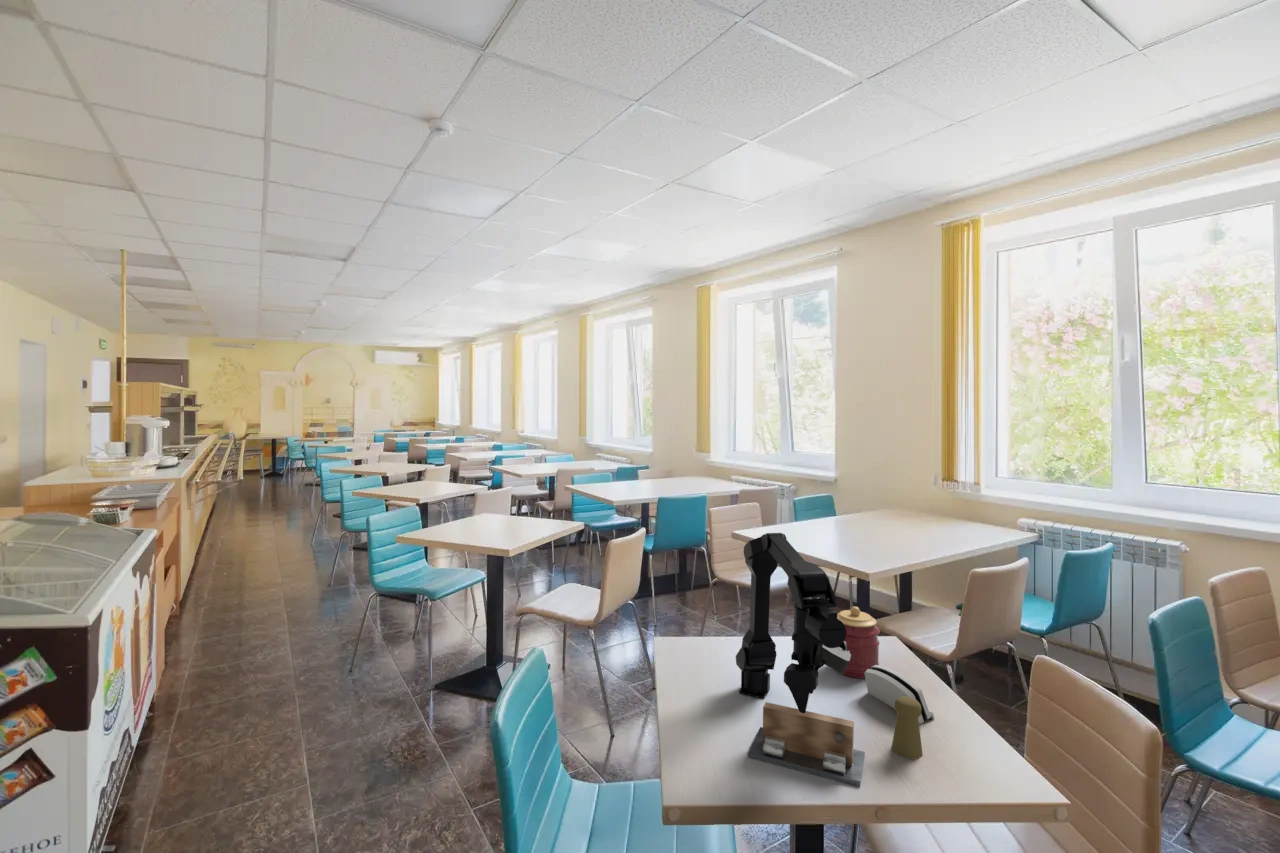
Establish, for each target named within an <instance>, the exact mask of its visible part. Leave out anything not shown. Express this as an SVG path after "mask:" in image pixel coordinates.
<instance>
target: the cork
mask: <svg viewBox="0 0 1280 853" xmlns="http://www.w3.org/2000/svg"><path fill="white" fill-rule="evenodd" d="M894 710H895V712H896V713H897V714H896V719H895V726H894V729H893V730H894V731H893V736H892V742H891V750H892V751H893V752H894V753H895V754H897V755H898V756H901V757H902V758H905V759H906V758H907V759H913V760H915V759H916V760H917V759H920V758H922V756H924V755H923V745H922V738H921V731H920V729H921V728H920V724H919V719H918V717H919V716H920V715H921V705H920V703H919V702H918V701H917V700H915V699H913V698H911V697H905V696H903V697H899V698H897V699H896V701H895V709H894Z"/></svg>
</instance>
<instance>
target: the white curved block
mask: <svg viewBox="0 0 1280 853" xmlns="http://www.w3.org/2000/svg"><path fill="white" fill-rule="evenodd" d="M864 679H865V684H866V689H867V694H869V695H871V696H873V697H874V698H876V699H877V700H879V701H881V702H882V703H883V704H886V705H888V706H889V707H891V708H893V709H894V710H895V701H896V699H897V698H899V697H903V696H905V697H911V698H913V699H915V700H917V701H918V702H919V703H920V705H921V715H920V716H919V717H918V719H919V725H921V724H924V723H925V721H924V720H925V719H927V720H929V719H931V720H933V721H934V720H935V714H934V712H933V711H931V710H930V709H929V707H928V704H927V702H926V699H925V696H924V694H923V691H922V690H921V689H920V687H918V686H917V685H916V684H915V683H914V682H913V681H911V680H910V679H908V678H907V677H906V676H904V675H903V674H902V673H900V672H897V671H896V670H894V669H891V668H889V667H887V666H884V665H880V664H879V665H875V666H872V667H871V669H867V670H866V672H865V678H864Z"/></svg>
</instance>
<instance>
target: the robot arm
mask: <svg viewBox="0 0 1280 853" xmlns="http://www.w3.org/2000/svg"><path fill="white" fill-rule="evenodd" d="M743 556H744V561H745V562H744V563H745V565H746V567H747V568H748V569H749V572H750V576H751V578H750V598H749V599H750V602H749V604H750V605H749V626H748V627H749V628H748V629H747V631H746V632H745V634H744V635H743V637H742V641H741V642H742V643H741V647H740V648H739V650H738V652H737V653H736V655H735V664H736V666H737V667H738V668H739V669H740V673H741V674H740V676H741V677H740V678H741V679H740V682H741V683H740V689H739V690H738V693H739V694H741V695H747V696H751V697H755V698H761V699H765V698H766V695H768V693H769V692H770V689H771V685H770V684H771V674H770V673H769V670H774V669H775V664H776V659H777V651H776V647H777V645H776V643H775V641H774V640H773V638H772V636H771V634H770V633H769V628H770V627H769V625H770V607H771V606H770V603H771V602H770V601H771V580H772V579H771V577H772V575H773V574H774V572H775V571H776V569H777V568H778V567H780V568H781V569H782V570H783V571H784V573H785V574H786V576H787V577H788V578H787V586H788V588H789V591H790V593H791V596H792V597H791V600H790V601H791V602H793V603H794V605H793V606H794V607H793V608H794V611H793V612H794V613H793V616H794V617H793V632H792V635H791V641H793V650H792V654H790V655H791V656H790V658H791V659H790V660H791V661H796V662H797V663H798V664H797V663H793V662H792V663H790V664H789V665H788V666H787V667H786V669H785V671H784V673H783V683H785V685H786V686H787V687H788V689H789V691H790V693H791V695H792V698H793V700H794V702H795V704H796V707H797V709H799V712H801V713H805V712H806V711H807V707H808V703H809V698H810V694H811V695H812V694H813V693H814V691H816V689H817V687H818V685H819V670H820V669H821V668H822V667H823V666H827V667H829V668H831V669H832V670H834V671H835V670H836V671H835V672H836V673H838V674H839V675H843V674H844V672H845V670H846V668H847V666H848V663H849V661H850V658H851V654H850V651H847V645H846V642H845V641H844V640H845V638H846V634H847V631H846V628H845V625H844V624H843V623H842V622H841V621H840V620H839V619H837V614H838V612H837V611H835V610H834V609H833V610H832V609H830V608H837V601H836V599H837V596H836V595H835V592H834V589H833V587H832V585H831V582H830V578H829V576H828V575H827V573H826V572H825V571H824V570H823V569H822V568H821V567H820V566H818V565H817V564H815V563H811V562H808V561H806V560H805V559H804V558H803V557H802V556H801V555H800V553H799V552H798V551H797V550H796V549H795V548H794V546H792V544H791V543H790V542H789V540H787V537H786V535H785V534H784V533H782V532H766V533H765V534H762V535H761V536H759V537H756V538H753V539H751V540H748V542H747V543H745V545H744V547H743ZM778 565H779V566H778ZM824 597H825V598H824Z"/></svg>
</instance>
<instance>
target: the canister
mask: <svg viewBox="0 0 1280 853" xmlns="http://www.w3.org/2000/svg"><path fill="white" fill-rule="evenodd" d="M837 619H839V620H840V621H841V622H842V623H843V624H844V625H845V628H846V631H847V634H846V638H845V640H844V641H845V642H846V645H847V651H850V654H851V658H850V661H849V663H848V666H847V668H846V670H845V672H844V674H842V675H844V676H846V677H850V678H855V679H856V678H858V679H865V672H866V670H867V669H871V667H872V666H875V665H879V666H880V663H879V656H880V655H879V651H880V650H879V646H880V641H879V638H878V637H879V636H878V635H879V634H880V632H881V630H880V628H879V627H878V626H877V620H876V619H875V618H874V617H873V616H871V615H870V614H869V613H867V612H864V611H861V610H860V608H859V607H858V606H852V607H850V609H846V610H841V611H839V612H837ZM834 671H835V672H837V671H836V670H834Z"/></svg>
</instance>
